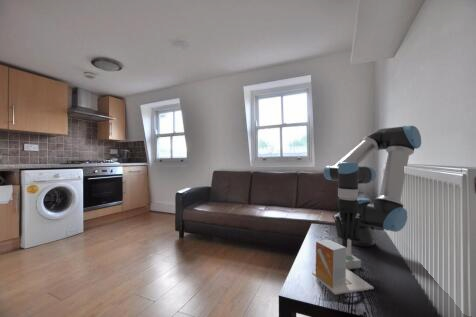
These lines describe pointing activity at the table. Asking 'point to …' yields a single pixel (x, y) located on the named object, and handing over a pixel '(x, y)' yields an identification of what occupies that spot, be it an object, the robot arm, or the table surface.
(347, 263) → the button box
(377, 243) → the table surface
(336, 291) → the sheet
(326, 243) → the small box
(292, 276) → the table surface
